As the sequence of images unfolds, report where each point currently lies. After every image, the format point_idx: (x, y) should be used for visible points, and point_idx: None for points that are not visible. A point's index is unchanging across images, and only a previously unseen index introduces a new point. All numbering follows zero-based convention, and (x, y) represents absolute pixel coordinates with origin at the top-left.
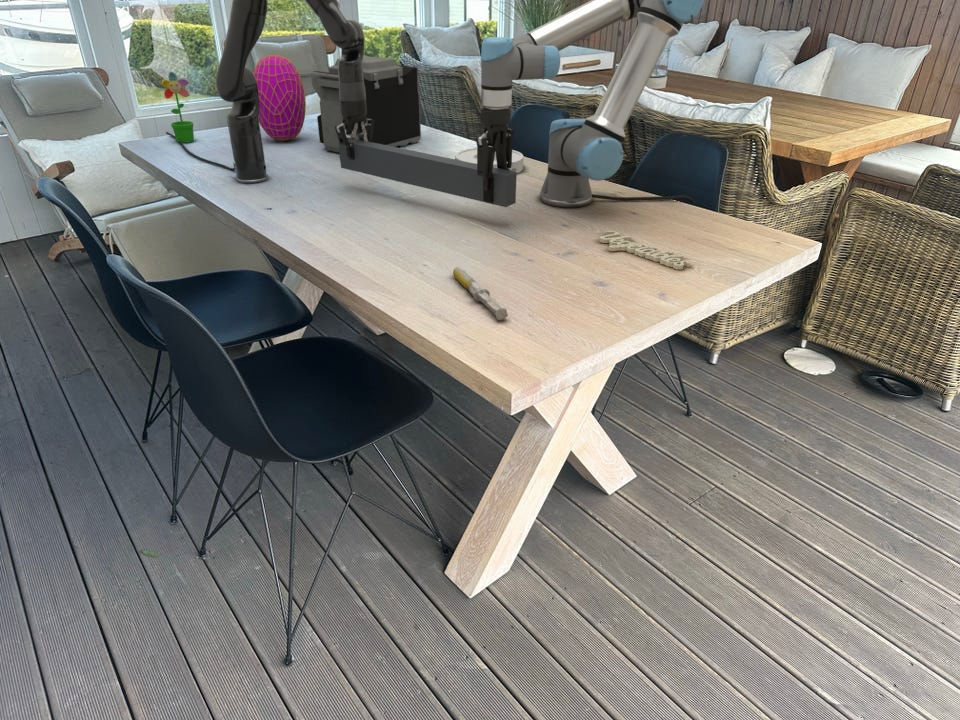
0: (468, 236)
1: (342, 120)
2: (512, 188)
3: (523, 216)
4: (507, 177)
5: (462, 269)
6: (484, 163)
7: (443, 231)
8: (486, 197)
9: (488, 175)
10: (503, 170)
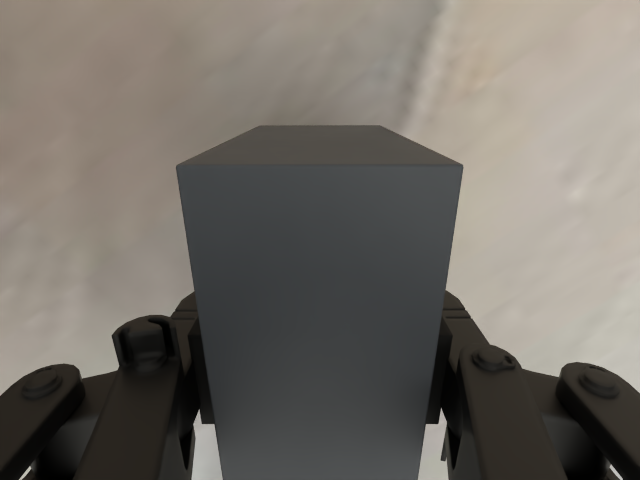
0: (517, 207)
1: None
2: (298, 138)
3: (133, 168)
4: (432, 158)
5: None
6: None
7: (512, 314)
8: None
9: (518, 373)
10: (249, 350)
